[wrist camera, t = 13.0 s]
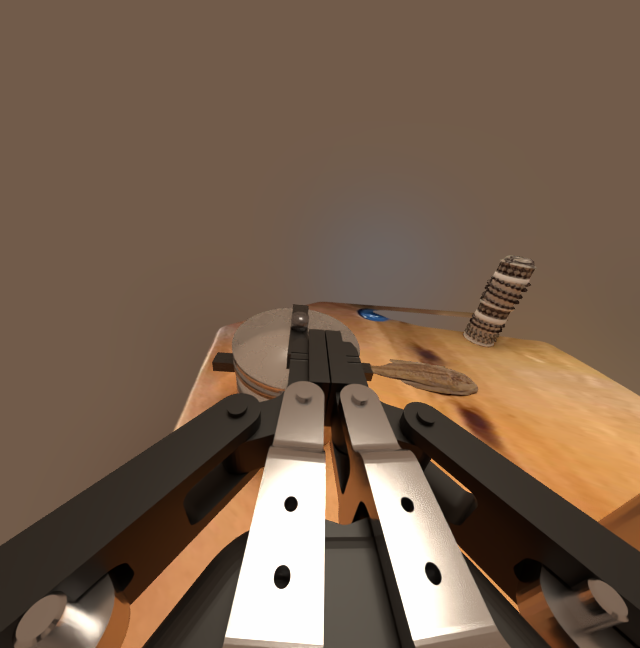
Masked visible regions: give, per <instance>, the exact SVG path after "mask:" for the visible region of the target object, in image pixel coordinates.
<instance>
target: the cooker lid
mask: <svg viewBox="0 0 640 648" xmlns="http://www.w3.org/2000/svg"><path fill="white" fill-rule="evenodd" d="M309 329H320V330H324V331H325V330H335V331H341V335H342V340H343V341H344V342H351V343H352V344H353V345H354V346H355V347H356V348H357V351H358V354H359V355H360V349H359V344H358V341H357V339H356V337H355V335H354V334H353V333H352V332H351V330H350V329H349V328H348V327H346V326H345V325H344V324H343V323H341V322H340V321H338V320H337V319H335V318H333V317H331V316H328V315H326V314H323V313H320V312H317V311H313V310H308V306H306V305H295V304H294V305H293V308H283V309H275V310H270V311H266V312H263V313H260V314H258V315H255V316H253V317H251V318H249V319H248V320H246V321H245V322H244V323H243V324H242V325H241V326H240V327H239V328H238V329H237V331H236V332H235V334H234V337H233V340H232V351H233V359H234V362H235V364H236V366H237V368H238V370H239V371H240V372H241V373H242V374H243V375H244V376H245V377H246V378H247V379H248V380H249V381H251V382H252V383H254V384H255V385H257V386H259V387H261V388H263V389H266V390H269V391H272V392H275V393H280V394H282V393H283V392H284V391H285V390H286V388H287V385H288V377H289V368H290V358H291V349H292V344H293V343H294V341H295V340H296V339H297V338H300V339H308V331H309Z"/></svg>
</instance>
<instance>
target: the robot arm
mask: <svg viewBox="0 0 640 648" xmlns="http://www.w3.org/2000/svg"><path fill="white" fill-rule="evenodd" d="M324 426H326V427H331V433H332V435H331V440H330V450H331V456H332V462H333V468H334V475H335V481H336V487H337V493H338V502H339V511H338V518H339V524H338V523H335V522H332V521H329V520H326V519H325V451H324V450H323V438H324ZM431 458H432V459H433V460H434V461H435V462H437V463H438V464H439V465H440V466H441V467H443V468H444V469H445V470H446V471H447V472H448V473H450V474H451V475H452V476H453V477H454V478H456V479H457V480H458V481H459V482H460V483H461V484H463V485H464V486H465V487H466V488H467V489H469V490H470V491H471V492H472V493H473V494H472V493H469V492H467V491H465V490H464V489H463V488H461V487H460V486H459V485H458V484H457V483H456V482H454V481H453V480H452V479H451V478H450V477H449V476H447V475H446V474H445V473H444V472H443V471H442V470H440V469H439V468H438V467H437V466H436V465H434V464H433V463H432V462H431V461H430V460H431ZM262 467H265V468H264V472H263V476H262V481H261V485H260V489H259V494H258V498H257V502H256V507H255V511H254V515H253V519H252V524H251V528H250V530H249V531H247V532H245V533H243V534H242V535H240V536H239V537H237V538H236V539H234V540H233V541H232V542H231V543H229V544H228V545H227V546H226V547H224V548H223V549H222V550H221V551H220V553H219V554H218V555H217V556H216V557H215V558H214V559H213V560H212V561H211V562H210V563H209V565H208V566H207V567H206V568H205V570H204V571H203V572H202V573H201V575H200V576H199V577H198V578H197V580H196V581H195V582H194V583H193V585H192V586H191V587H190V588H189V590H188V591H187V592H186V593H185V594H184V596H183V597H182V598H181V599H180V601H179V602H178V603H177V604H176V606H175V607H174V608H173V609H172V611H171V612H170V613H169V614H168V616H167V617H166V618H165V619H164V621H163V622H162V623H161V624H160V626H159V627H158V628H157V629H156V631H155V632H154V633H153V634H152V636H151V637H150V638H149V639H148V641H147V642H146V643H145V644H144V646H143V647H142V648H640V494H638V495H637V496H635V497H634V498H632V499H631V500H629V501H628V502H626V503H625V504H623V505H622V506H621V507H619V508H618V509H616V510H615V511H613V512H612V513H610V514H609V515H607V516H606V517H604V518H603V519H601V520H600V521H598V522H597V521H595V520H594V519H592V518H591V517H590V516H588V515H587V514H585V513H584V512H582V511H581V510H579V509H578V508H577V507H575V506H574V505H572V504H571V503H569V502H568V501H567V500H565V499H564V498H562V497H561V496H559V495H558V494H557V493H555V492H554V491H552V490H551V489H549V488H548V487H547V486H545V485H544V484H542V483H541V482H539V481H538V480H536V479H535V478H534V477H532V476H531V475H529V474H528V473H526V472H525V471H524V470H522V469H521V468H519V467H518V466H516V465H515V464H514V463H512V462H511V461H509V460H508V459H506V458H505V457H503V456H502V455H501V454H499V453H498V452H496V451H495V450H493V449H492V448H491V447H489V446H488V445H486V444H485V443H483V442H482V441H481V440H479V439H478V438H476V437H475V436H473V435H472V434H471V433H469V432H468V431H466V430H465V429H463V428H462V427H460V426H459V425H458V424H456V423H455V422H453V421H452V420H450V419H449V418H448V417H446V416H445V415H443V414H442V413H440V412H439V411H438V410H436V409H435V408H433V407H431V406H429V405H427V404H425V403H421V402H412V403H409V404H407V405H406V406H405V408H404V410H403V409H400V408H397V407H394V406H390V405H388V404H385V403H383V402H381V401H380V400H379V398H378V396H377V394H376V393H375V392H374V391H373V390H372V389H370V388H369V387H368V384H367V381H366V377H365V374H364V371H363V367H362V364H361V361H360V358H359V354H358V351H357V348H356V347H355V346H354V345H353V344H352V343H351V342H344V341H343V340H342V335H341V331H335V330H325V331H324V330H320V329H309V331H308V339H300V338H297V339H296V340H295V341H294V343H293V344H292V349H291V358H290V368H289V377H288V385H287V388H286V390H285V391H284V392H283V393H282V394H281V395H280V396H278V397H276V398H274V399H270V400H266V401H262V402H259V401H258V399H257V398H256V397H254V396H252V395H250V394H245V393H238V394H233V395H230V396H228V397H226V398H224V399H223V400H221V401H220V402H218V403H216V404H215V405H213V406H212V407H210V408H209V409H207V410H206V411H204V412H203V413H201V414H200V415H198V416H197V417H195V418H194V419H192V420H191V421H189V422H188V423H186V424H185V425H183V426H182V427H180V428H179V429H177V430H176V431H174V432H172V433H171V434H169V435H168V436H166V437H165V438H163V439H162V440H160V441H159V442H157V443H156V444H154V445H153V446H151V447H150V448H148V449H147V450H145V451H144V452H142V453H141V454H139V455H138V456H136V457H135V458H133V459H131V460H130V461H128V462H127V463H125V464H124V465H122V466H121V467H119V468H118V469H116V470H115V471H113V472H112V473H110V474H109V475H107V476H106V477H104V478H103V479H101V480H100V481H98V482H97V483H95V484H94V485H92V486H91V487H89V488H87V489H86V490H84V491H83V492H81V493H80V494H78V495H77V496H75V497H74V498H72V499H71V500H69V501H68V502H66V503H65V504H63V505H62V506H60V507H59V508H57V509H56V510H54V511H53V512H51V513H50V514H48V515H46V516H45V517H43V518H42V519H40V520H39V521H37V522H36V523H34V524H33V525H31V526H30V527H28V528H27V529H25V530H24V531H22V532H21V533H19V534H18V535H16V536H15V537H13V538H12V539H10V540H9V541H7V542H6V543H4V544H2V545H1V546H0V648H121V646H122V644H123V641H124V639H125V637H126V633H127V630H128V627H129V622H130V605H131V604H132V603H133V602H134V601H135V600H136V599H137V598H138V597H139V596H140V595H141V593H142V592H143V591H144V590H145V589H146V588H147V587H148V586H149V585H150V584H151V583H152V582H153V581H154V580H155V579H156V578H157V577H158V576H159V575H160V574H161V573H162V572H163V570H164V569H165V568H166V567H167V566H168V565H169V564H170V563H171V562H172V561H173V560H174V559H175V558H176V557H177V556H178V555H179V554H180V553H181V552H182V551H183V550H184V549H185V547H186V546H187V545H188V544H189V543H190V542H191V541H192V540H193V539H194V538H195V537H196V536H197V535H198V534H199V533H200V532H201V531H202V530H203V529H204V528H205V527H206V526H207V525H208V523H209V522H210V521H211V520H212V519H213V518H214V517H215V516H216V515H217V514H218V513H219V512H220V511H221V510H222V509H223V508H224V507H225V506H226V505H227V504H228V503H229V502H230V500H231V499H232V498H233V497H234V496H235V495H236V494H237V493H238V492H239V491H240V490H241V489H242V488H243V487H244V486H245V485H246V484H247V483H248V482H249V481H250V480H251V479H252V477H253V476H254V475H255V474H256V473H257V472H258V470H259V469H260V468H262ZM457 544H458V545H459V546H460V547H461V548H462V549H463V550H464V551H465V552H466V553H467V554H468V555H469V556H470V558H471V559H472V560H473V561H474V562H475V563H476V564H477V565H478V566H479V567H480V568H481V569H482V570H483V571H484V572H485V573H486V574H487V575H488V576H489V577H490V578H491V579H492V580H493V581H494V582H495V583H496V584H497V585H498V586H499V587H500V588H501V589H502V590H503V591H504V592H505V593H506V594H507V595H508V596H509V597H510V598H511V599H512V600H513V601H514V602H515V603H516V604H517V605H518V608H519V611H520V613H519V612H518V611H517V610H516V609H515V608H514V607H513V606H512V605H511V604H510V602H509V601H508V600H507V599H506V598H505V597H504V596H503V595H502V594H501V593H500V592H499V591H498V590H497V589H496V588H495V586H494V585H493V584H492V583H491V582H490V581H489V580H488V579H487V578H486V577H485V576H484V575H483V574H482V573H481V572H480V570H479V569H478V568H477V567H476V566H475V565H474V564H473V563H472V562H471V561H470V560H469V559H468V558H467V557H466V556H465V555H464V554H463V553H462V552H461V551H460V549H459V547H458V545H457Z"/></svg>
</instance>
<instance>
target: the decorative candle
mask: <svg viewBox="0 0 640 648" xmlns="http://www.w3.org/2000/svg"><path fill="white" fill-rule="evenodd" d="M500 261H501V263H500V265H499V267H498V269H497V271H495V273H494V275H493V276H492V277H491V278H492V279H490V280H488V282H487V283H488V285H486V287H485V289H486V291H484V292H483V294H482V296H481V298H480V301H481V303H480V305H479V307H478V308H477V310H476V312H475V314H473V315H472V317H473V318H471V319H470V322H471V323H468V325H467V328H466V329H465V332H464V334H463V335H464V337H465V338H466V339H467V340H469V341H471V342H472V343H475V344H477V345H480V346H485V347H491V346H493V345H494V342H496V340H497V339H496V338H498V337H499V332H502V328H503V327H505V322H506V320H507V317H508V315H509V313H510V312H511V311H513V310H514V309H515V308H514V307H513V305H514V304H519V301H518V300H517V299H522V296H521V295H520V293H521V292H526V291H527V289H526V288H524V286H526V287H527V286H530V285H531V284H530V283H528V282H529V280H530V277H531V275H532V273H533V272H534V270H535V269H536V267H535V266H534V261H533V260H531V259H527V258H523V257H518V256H507V257H506V258H504V259H502V260H500ZM488 287H489V288H488Z"/></svg>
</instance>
